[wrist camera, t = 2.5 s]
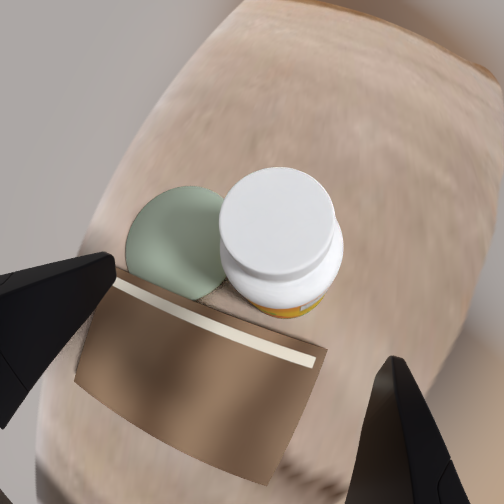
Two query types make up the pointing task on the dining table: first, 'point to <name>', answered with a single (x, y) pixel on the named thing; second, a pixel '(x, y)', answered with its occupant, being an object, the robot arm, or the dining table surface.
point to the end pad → (178, 242)
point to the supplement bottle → (280, 241)
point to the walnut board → (198, 376)
